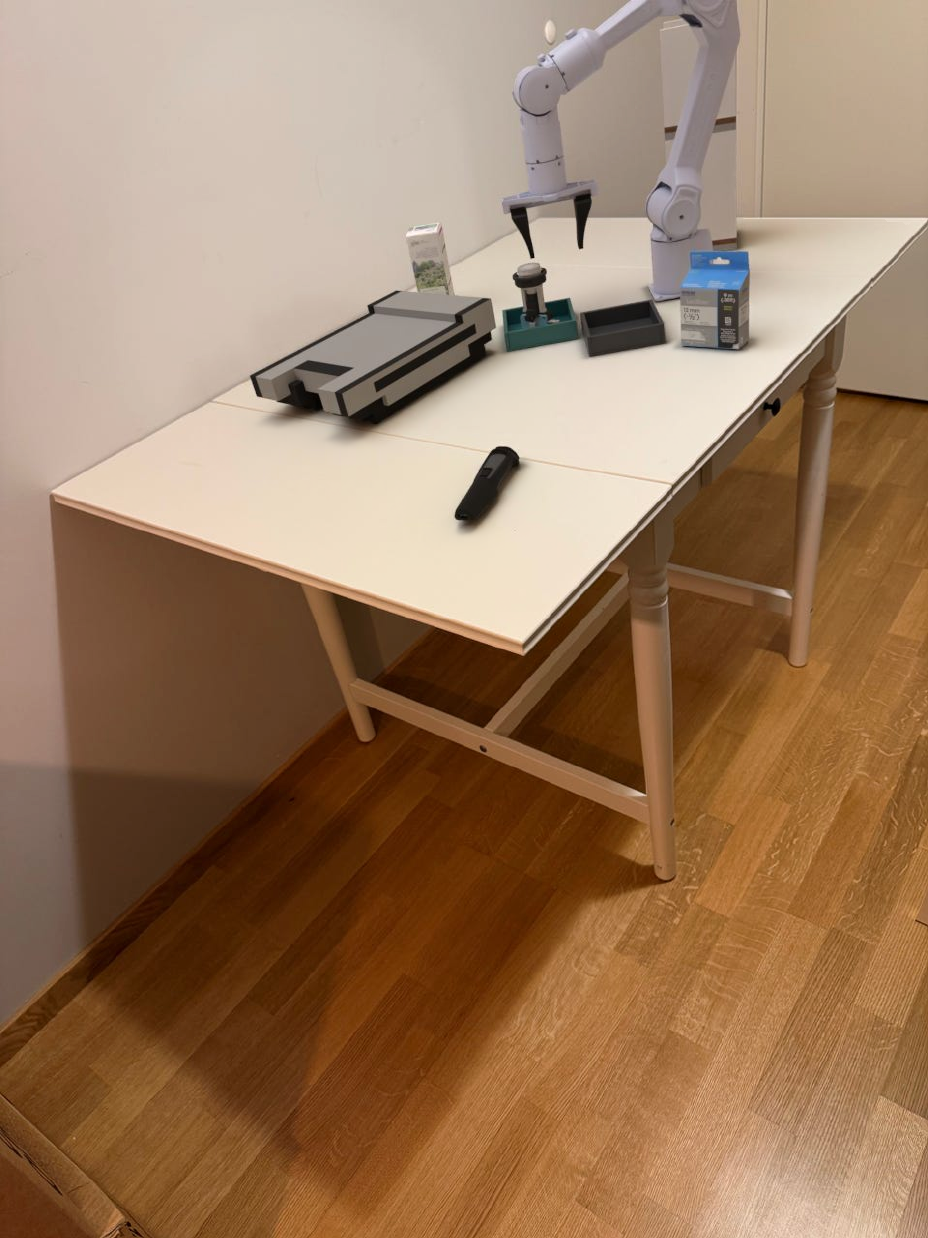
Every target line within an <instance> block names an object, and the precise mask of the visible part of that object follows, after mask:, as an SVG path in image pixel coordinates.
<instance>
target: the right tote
mask: <svg viewBox="0 0 928 1238" xmlns="http://www.w3.org/2000/svg"><path fill="white" fill-rule="evenodd" d="M579 318H580V328H581V333H582V336H583V341H584V343H585V347H586V351H587V354H588V357H595V356H600V355H607V354H610V353H611V354H612V353H617V352H623V351H629V350H633V349H639V348H645V347H646V348H647V347H650V346H656V345H662V344H666V324H665V322H664V320H663V317H662V316H661V315H660V312H659V311H658V308H657V306H656V304H655V302H654V299H646V300H641V301H635V302H631V303H625V304H619V305H614V306H608V307H603V308H597V309H593V310H592V309H591V310H586V311H581V312H579Z"/></svg>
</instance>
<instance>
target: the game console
mask: <svg viewBox="0 0 928 1238" xmlns="http://www.w3.org/2000/svg"><path fill="white" fill-rule="evenodd" d="M493 306H494V305H493V300H492V298H489V297H478V296H469V295H467V296H466V295H456V294H455V295H444V294H432V293H421V292H417V291H409V290H394V291H392V292H390V293H388V294H387V295H385V296H383V297H381V298H379V299H376V300H375V301H373V302H371V303H369V304H367V310H368V312H367V313H366V314H364V315H362V316H361V317H358V318H357V319H355V320H353V321H351V322H349V323H347V324H345V325H344V326H341V327H340V328H338V329H336V330H334V331H332V332H330V333H328V334H326V335H324V336H322V337H320V338H319V339H318V338H317V340H314V341H312V342H311V343H309V344H307V345H305V346H303V347H302V348H299V349H297V350H296V351H294V352H292V353H290V354H288V355H286V356H284V357H283V358H281V359H278V360H277V361H274V362H273V363H271V364H269V365H267V366H265V367H264V368H261V369H260V370H258V371H255V372H253V373H252V374H250V375H249V378H250V380H251V383H252V384H251V385H252V387H253V390H254V392H255V395H256V397H257V398H262V399H267V400H271V401H275V402H276V403H280V404H284V405H289V406H292V407H296V408H300V409H304V410H309V411H314V412H318V411H320V410H322V409H323V412H324V413H325V412H327V413H331V414H332V415H335V416H340V417H344V418H348V419H351V420H355V421H359V422H364V423H368V424H374V425H378V424H379V423H381V422H383V421H384V420H386V419H387V418H389V417H391V416H392V415H394V414H396V413H397V412H398V411H400V410H402V409H403V408H405V407H407V406H408V405H410V404H411V403H413V402H414V401H416V400H418V399H419V398H421V397H423V396H424V395H426V394H428V393H429V392H431V391H432V390H434V389H435V388H437V387H439V386H440V385H442V384H443V383H445V382H447V381H448V380H450V379H452V378H453V377H455V376H456V375H458V374H459V373H461V372H462V371H465V370H466V369H467V368H469V367H471V366H473V365H474V364H475V363H477V362H479V361H481V360H482V359H484V358H485V357H487V351H486V344H488V343H490V342H491V341H493V337H492V331H493V330H495V329H496V328H497V325H496V318H495V312H494V307H493Z"/></svg>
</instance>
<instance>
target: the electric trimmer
mask: <svg viewBox="0 0 928 1238" xmlns="http://www.w3.org/2000/svg"><path fill="white" fill-rule="evenodd" d="M520 463H521V462H520V456H519V454H518V453H517V451H516V450H515V449H513V448H511V447H510V446H507V445H499V446H496V447H495V448H492V449H491V450H490V452H489V454H488V455H487V456H486V458H485V460H484V461H483V463H482V464H481V466H480V468H479V469H478V471H477V473H476V475H475V476H474V479H473V481H472V483H471V484H470V485H469V488H468V489H467V491H466V493H465V494H464V496H463V497H462V499H461V501H460V502H459V504H458V506H457V507H456V509H455V511H454V519H455V520H456V521H463V522H465V521H467V522H474V521H475V520H477V519H478V518H479V517H480V516H481V515H482V514H483V513H484V511H486V509H488V507H490V505H491V504H492V503H493V502H494V501H495V499H496V498H497V497H498V495H499V486H500V484H501V483H502V482H503V480H504V478H505V477H506V475H507V474H508V472H509V471H510V469H511V468H512V467H518V466H519V465H520Z"/></svg>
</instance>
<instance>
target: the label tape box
mask: <svg viewBox="0 0 928 1238" xmlns="http://www.w3.org/2000/svg"><path fill="white" fill-rule="evenodd" d="M749 257H750V256H749V251H747V250H729V251H690V264H691V268H690V270H689V272H688V274H687V276H686V278H685V280H684V282H683V283H682V285H681V287H680V297H679V301H680V302H679V304H680V305H679V306H680V307H679V312H680V313H679V314H680V315H679V316H680V344H681V347H698V348H713V349H728V350H729V349H730V350H740V349H741V348H742V347H744V346H745V345H746V344H747V342H749V340H750V287H751V285H750V282H751V268H750V258H749ZM718 258H720V259H721V260H722V261H728V263H713V264H710V260H713V261H714V260H715V261H716V260H717V259H718Z"/></svg>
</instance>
